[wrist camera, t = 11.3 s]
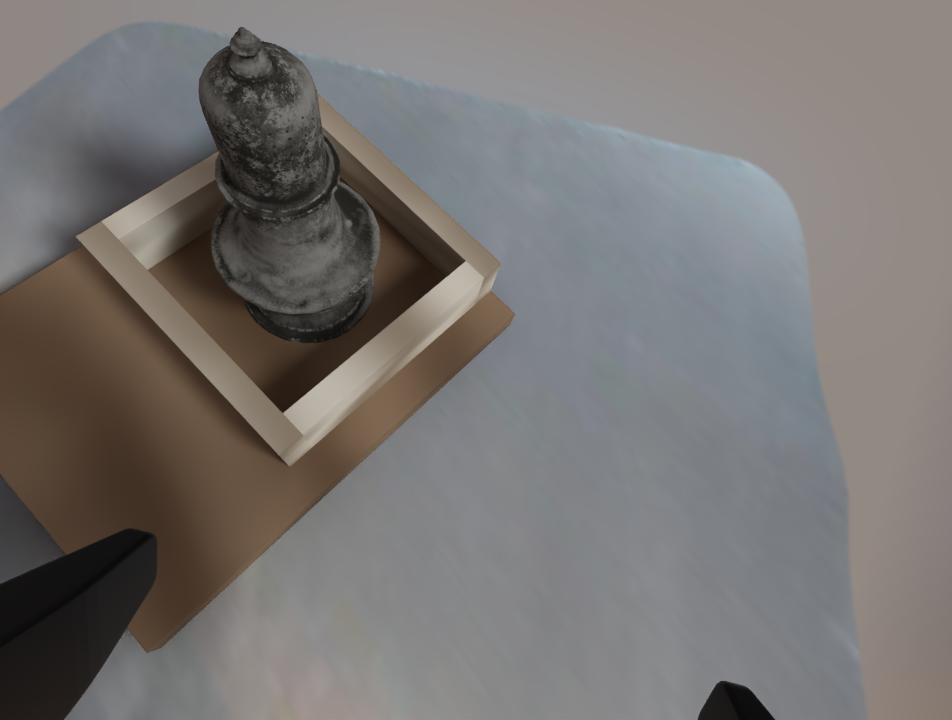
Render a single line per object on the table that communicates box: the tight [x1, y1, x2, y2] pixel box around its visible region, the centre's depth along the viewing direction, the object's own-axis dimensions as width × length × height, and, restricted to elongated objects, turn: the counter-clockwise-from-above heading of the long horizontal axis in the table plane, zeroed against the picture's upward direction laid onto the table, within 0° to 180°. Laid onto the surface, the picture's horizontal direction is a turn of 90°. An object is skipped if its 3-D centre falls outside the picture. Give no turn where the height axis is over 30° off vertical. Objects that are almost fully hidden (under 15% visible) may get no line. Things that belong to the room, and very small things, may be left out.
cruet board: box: [0, 93, 515, 653], centre depth 22 cm, size 18×14×4 cm
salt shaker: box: [199, 27, 381, 343], centre depth 18 cm, size 6×6×12 cm
